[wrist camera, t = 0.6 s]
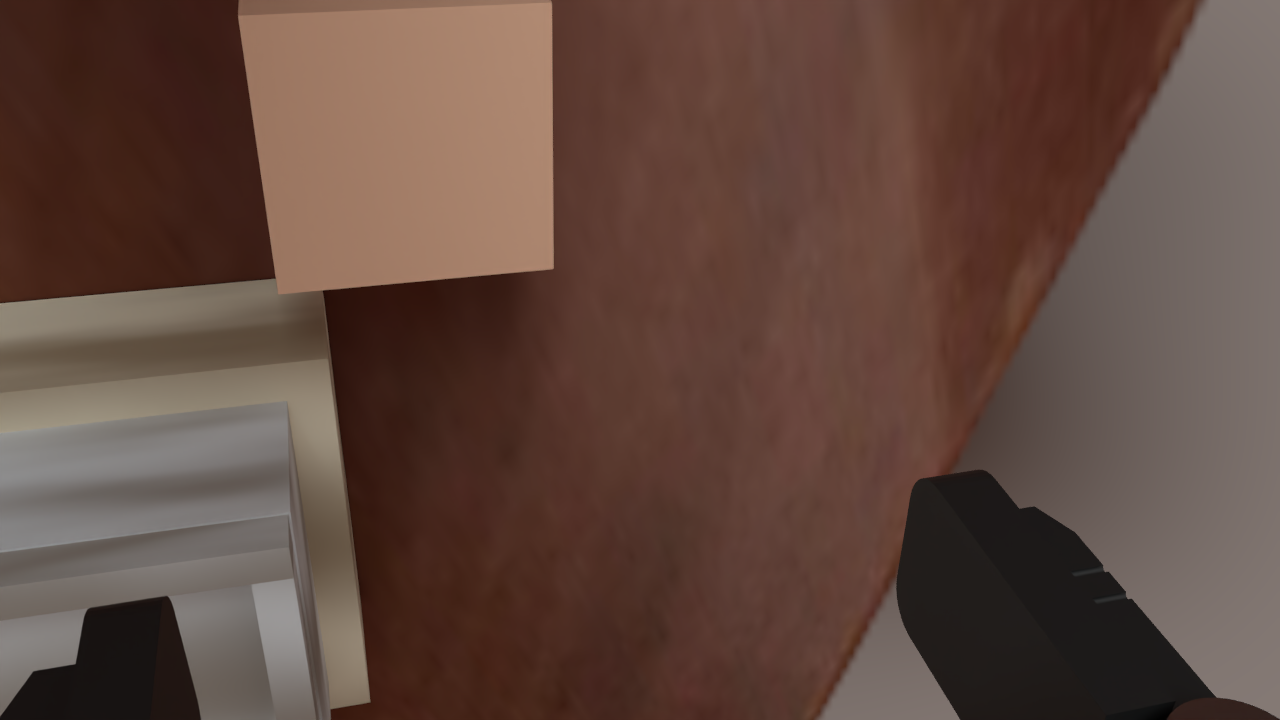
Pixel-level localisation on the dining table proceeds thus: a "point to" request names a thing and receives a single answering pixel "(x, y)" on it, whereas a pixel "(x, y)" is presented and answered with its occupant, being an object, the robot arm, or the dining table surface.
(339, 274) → the top block
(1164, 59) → the dining table surface
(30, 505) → the stepped translucent block
